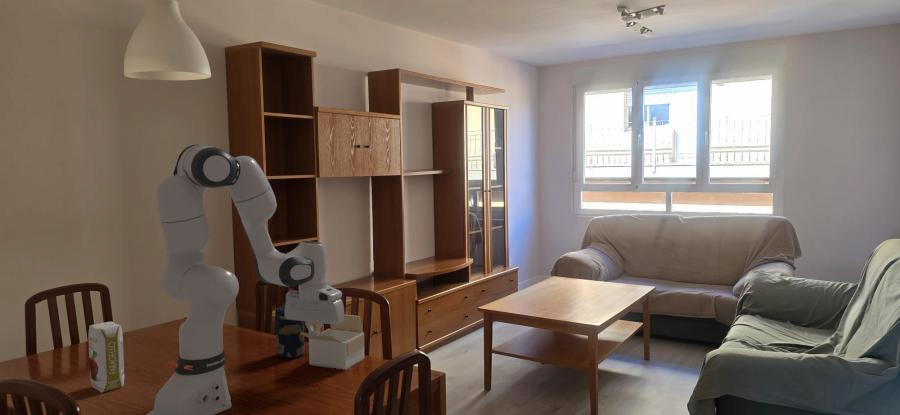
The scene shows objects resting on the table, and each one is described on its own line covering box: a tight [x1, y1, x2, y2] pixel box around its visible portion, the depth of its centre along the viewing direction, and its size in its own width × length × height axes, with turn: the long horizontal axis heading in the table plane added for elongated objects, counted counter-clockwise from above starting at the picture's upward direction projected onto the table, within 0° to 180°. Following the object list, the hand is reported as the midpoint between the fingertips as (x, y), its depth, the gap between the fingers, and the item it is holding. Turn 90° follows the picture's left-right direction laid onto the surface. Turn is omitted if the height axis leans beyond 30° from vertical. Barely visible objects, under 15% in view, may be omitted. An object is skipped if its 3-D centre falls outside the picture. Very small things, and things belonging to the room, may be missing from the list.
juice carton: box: [87, 321, 125, 393], centre depth 173 cm, size 8×9×19 cm
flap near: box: [300, 332, 343, 343], centre depth 186 cm, size 6×12×1 cm
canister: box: [274, 305, 305, 359], centre depth 202 cm, size 10×10×18 cm
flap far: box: [329, 313, 363, 333], centre depth 200 cm, size 6×12×1 cm
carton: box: [308, 328, 365, 371], centre depth 195 cm, size 12×15×9 cm
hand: (314, 335), depth 183 cm, fingers closed
